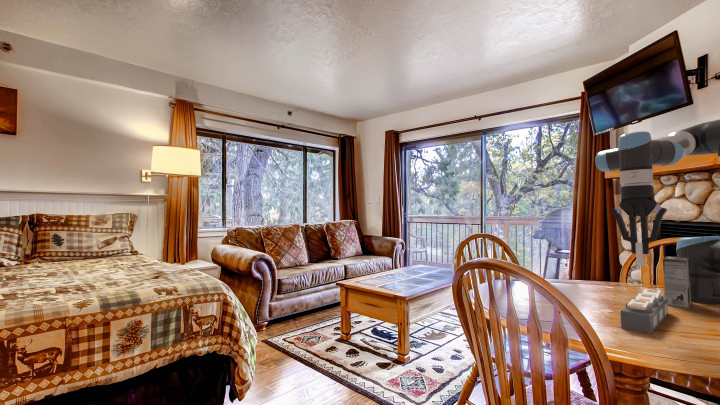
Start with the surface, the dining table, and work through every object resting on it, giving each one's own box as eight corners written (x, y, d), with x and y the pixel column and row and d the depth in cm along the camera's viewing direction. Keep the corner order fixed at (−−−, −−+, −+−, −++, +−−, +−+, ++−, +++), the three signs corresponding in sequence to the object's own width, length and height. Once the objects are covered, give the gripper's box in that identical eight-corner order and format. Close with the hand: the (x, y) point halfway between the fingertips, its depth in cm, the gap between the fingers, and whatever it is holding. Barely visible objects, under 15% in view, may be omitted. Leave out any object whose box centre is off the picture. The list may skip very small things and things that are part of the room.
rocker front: (632, 303, 100) (632, 298, 99) (650, 305, 96) (649, 301, 96) (627, 308, 96) (627, 304, 96) (645, 312, 93) (645, 307, 93)
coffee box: (667, 299, 124) (665, 255, 124) (691, 302, 119) (689, 257, 119) (663, 304, 118) (661, 258, 118) (689, 308, 113) (687, 260, 113)
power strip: (642, 309, 112) (641, 290, 113) (669, 313, 107) (668, 293, 107) (621, 328, 95) (620, 305, 95) (651, 334, 90) (651, 311, 90)
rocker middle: (639, 296, 105) (638, 292, 105) (655, 299, 102) (655, 294, 102) (634, 304, 101) (634, 300, 101) (652, 307, 98) (651, 302, 98)
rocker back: (645, 292, 110) (644, 288, 110) (661, 294, 107) (660, 290, 107) (641, 299, 107) (640, 295, 106) (657, 301, 104) (657, 297, 103)
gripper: (606, 186, 101) (610, 264, 101) (663, 182, 91) (668, 269, 91) (612, 187, 106) (616, 261, 105) (668, 183, 96) (672, 265, 95)
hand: (640, 264), depth 98 cm, fingers closed
